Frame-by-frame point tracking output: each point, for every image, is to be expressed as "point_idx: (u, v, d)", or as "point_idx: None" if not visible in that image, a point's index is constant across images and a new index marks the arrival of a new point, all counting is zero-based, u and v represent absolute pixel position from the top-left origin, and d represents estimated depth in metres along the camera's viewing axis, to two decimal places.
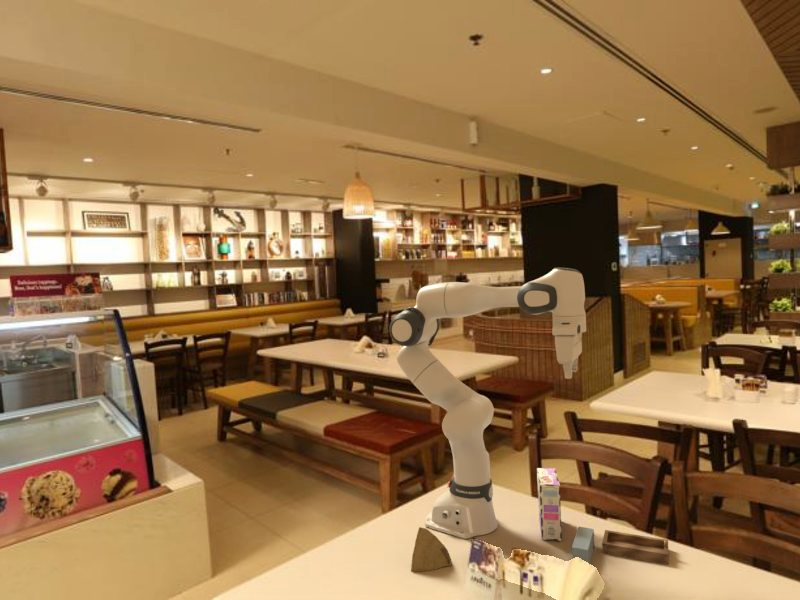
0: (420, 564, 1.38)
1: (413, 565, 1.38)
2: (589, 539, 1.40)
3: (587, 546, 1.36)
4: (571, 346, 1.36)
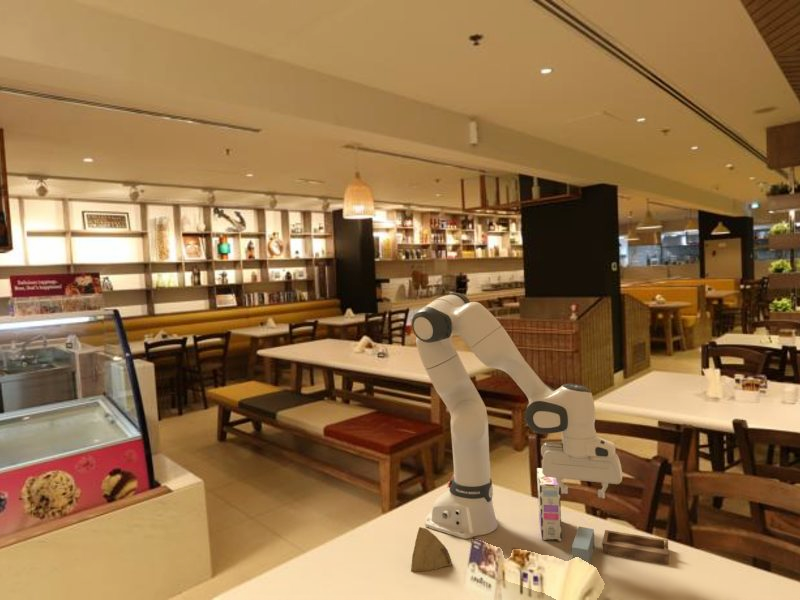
0: (420, 564, 1.38)
1: (413, 565, 1.38)
2: (589, 539, 1.40)
3: (587, 546, 1.36)
4: (619, 462, 1.37)
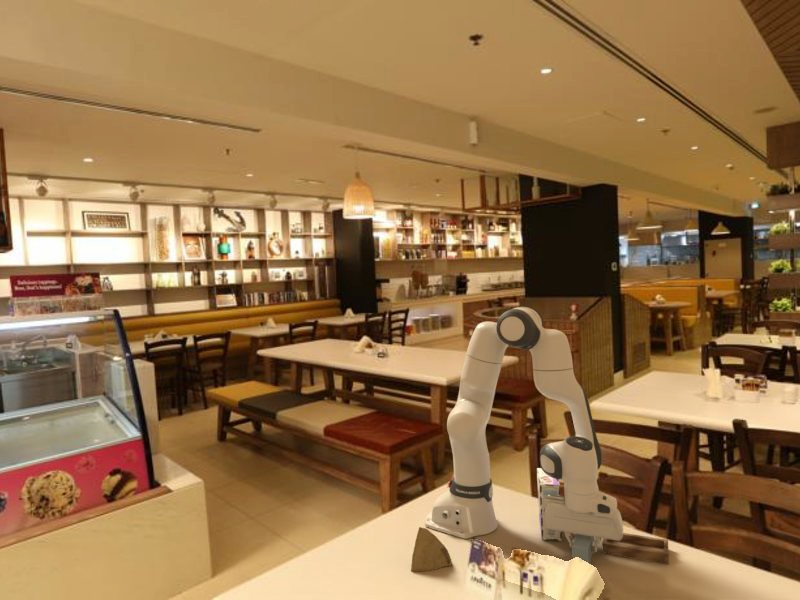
0: (420, 564, 1.38)
1: (413, 565, 1.38)
2: (589, 538, 1.40)
3: (587, 545, 1.36)
4: None
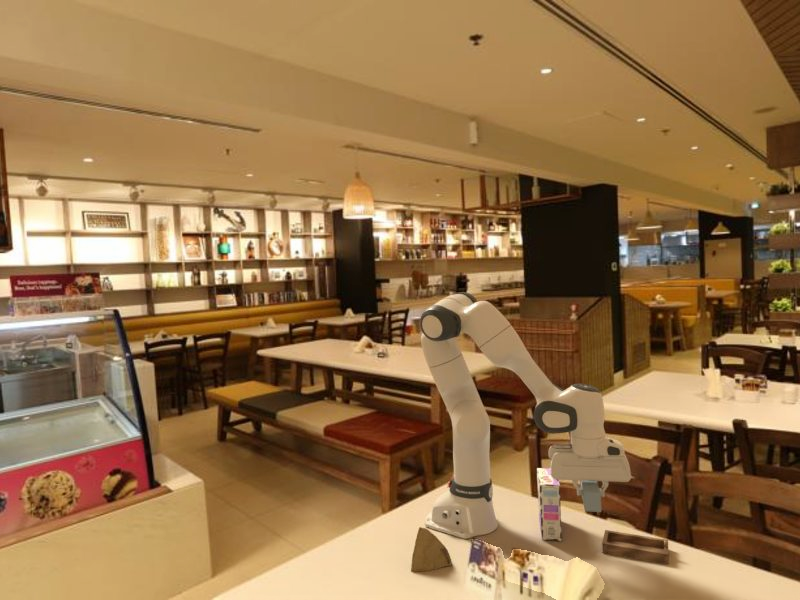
0: (420, 564, 1.38)
1: (413, 565, 1.38)
2: (596, 484, 1.39)
3: (598, 490, 1.35)
4: None
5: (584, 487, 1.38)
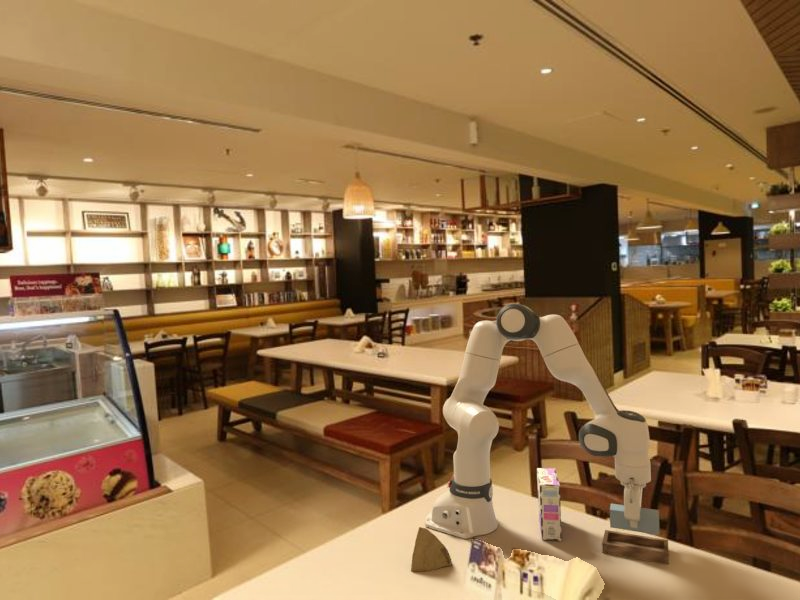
0: (420, 564, 1.38)
1: (413, 565, 1.38)
2: None
3: (651, 509, 1.41)
4: None
5: (645, 514, 1.39)
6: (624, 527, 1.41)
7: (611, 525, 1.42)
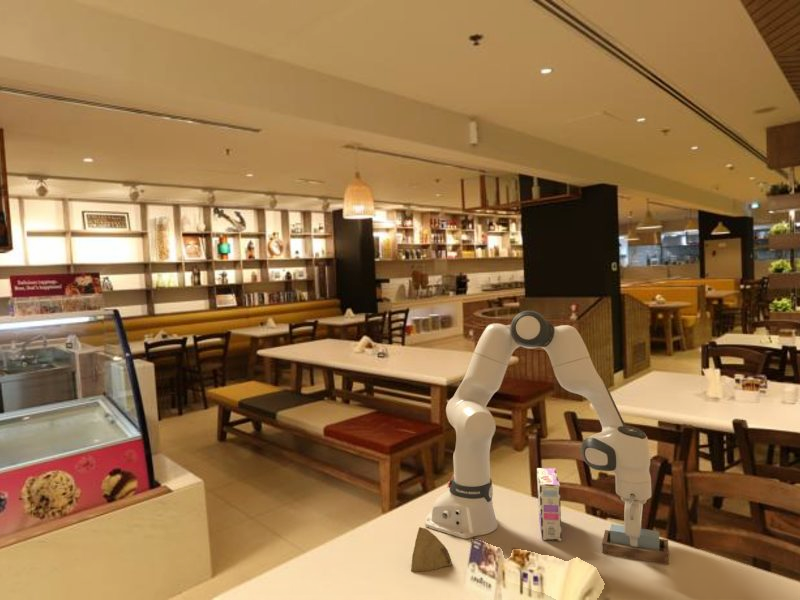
0: (420, 564, 1.38)
1: (413, 565, 1.38)
2: None
3: (652, 530, 1.41)
4: None
5: (646, 535, 1.39)
6: None
7: None
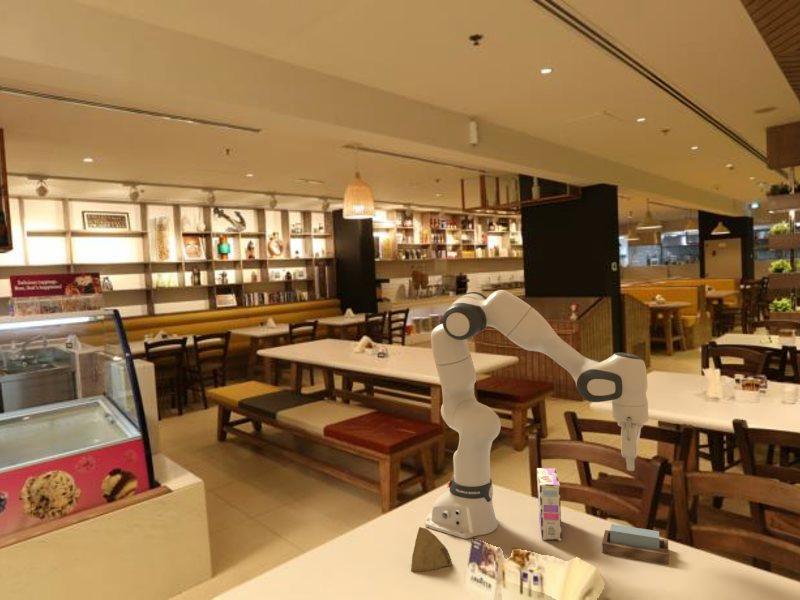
0: (420, 564, 1.38)
1: (413, 565, 1.38)
2: (636, 528, 1.43)
3: (652, 530, 1.41)
4: None
5: (646, 535, 1.39)
6: None
7: None
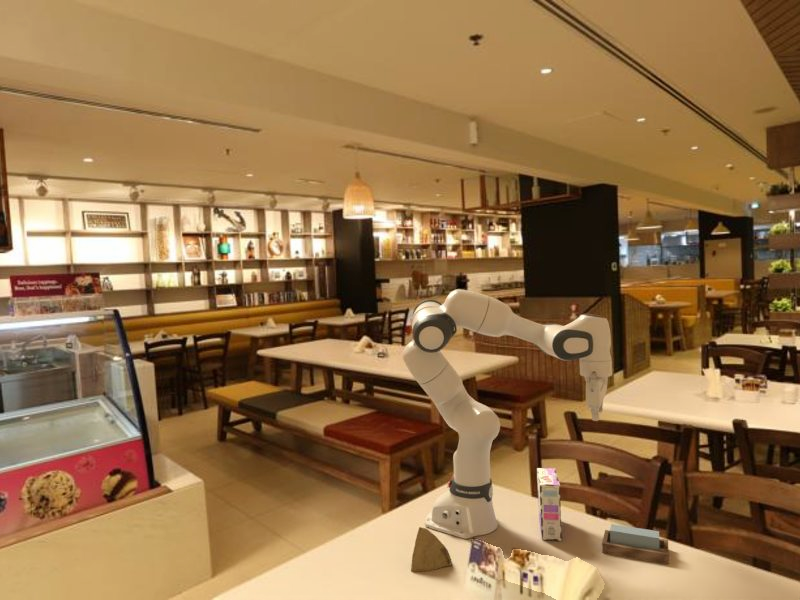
0: (420, 564, 1.38)
1: (413, 565, 1.38)
2: (636, 528, 1.43)
3: (652, 530, 1.41)
4: None
5: (646, 535, 1.39)
6: None
7: None
